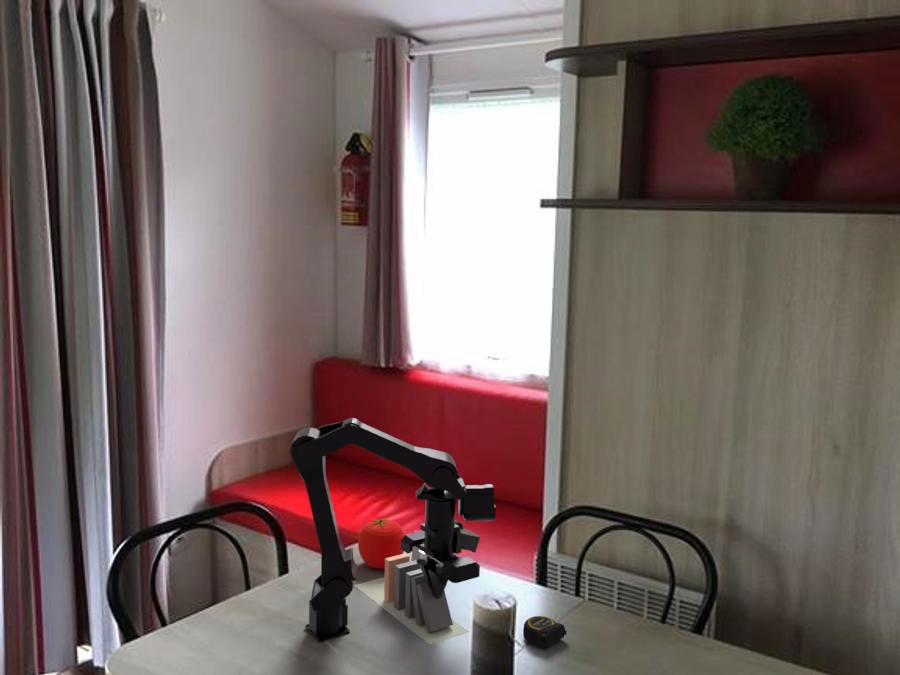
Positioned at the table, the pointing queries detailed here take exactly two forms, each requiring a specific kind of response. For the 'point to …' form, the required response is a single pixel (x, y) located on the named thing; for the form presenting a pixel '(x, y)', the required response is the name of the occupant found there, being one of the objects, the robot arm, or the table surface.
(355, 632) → the table surface
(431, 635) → the runner
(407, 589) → the domino
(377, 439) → the robot arm
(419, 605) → the domino
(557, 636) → the tape measure
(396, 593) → the domino
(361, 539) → the tomato
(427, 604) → the domino
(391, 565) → the domino
